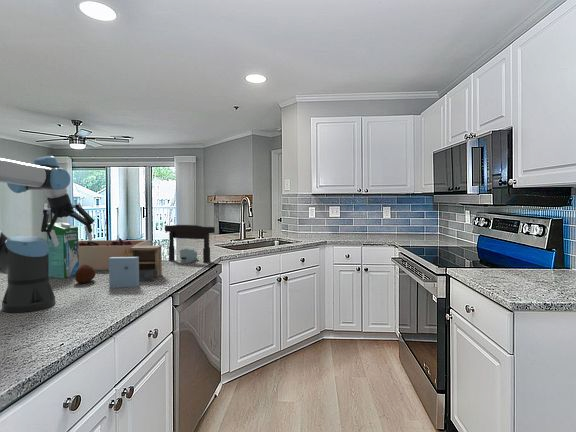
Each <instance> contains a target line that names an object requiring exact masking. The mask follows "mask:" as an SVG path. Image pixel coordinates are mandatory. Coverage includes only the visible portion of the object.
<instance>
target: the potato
mask: <svg viewBox="0 0 576 432" xmlns="http://www.w3.org/2000/svg"><path fill="white" fill-rule="evenodd" d="M95 276H96V270H94V268H93V267H91V266H89V265H82V266H80V267H79V268H78V270H77V271H76V273H75V276H74V280H75V281H76V282H77V284H85V283H89V282H91V281H92V280H94V278H95Z"/></svg>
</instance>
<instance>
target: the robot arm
mask: <svg viewBox="0 0 576 432" xmlns="http://www.w3.org/2000/svg"><path fill="white" fill-rule="evenodd" d="M33 163H34V164H32V163H27V162H22V161H17V160H13V159H7V158H3V157H0V183H4V184H7V187H8V188H9V190H11V191H12V192H13V193H16V194H20V193H26V192H27V191H31V190H33V191H35V190H37V191H38V190H40V191H41V190H42V191H43V190H44V193H45V196H46V198H47V201H48V205H49V208H48V207H44V209H43V210H42V214H43V216H42V223H41V228H40V232H41V233H46V234H47V233H48V236H49V239H52V241H53V243H54V246H55V247H57V246H58V245H59V242H58V239H57V237H56V234H55V231H54V230H52V228H53V226H54V224H55V223H57V220H58V218H61V219H62V218H68V217H71V218H73V219H75V220H76V221H78V222H79V223H81V224H83V225H84V227H83V228H84V231H85V234H86V237H87V239H88V240H87V241H93V240H94V239H93V238H94V237H93V235H92V232H93V228H92V225H93V224H94V222H95V219H94V218H93V217H92V216H91V215H90V214H89V213H88V212H87V211H86V210H85V209H84V208H83V207H82V205H81V203H80V202H77V203H76V204H72V202H71V199H70V198H71V197H70V195H69V193H68V190H67V187H68V186H70V183H71V176H70V173H69V172H68V170H67V169H65V168H62V167H60V165H59V164H58V163H59V162H58V161H57V159H56V157H55V156H53V155H44V156H41V157H40V156H39V157H36V158H35V159H33ZM75 210H77V212H76V211H75ZM78 213H79V214H78ZM50 214H53V216H52V219H51V221H50V222H49V216H50ZM48 223H50V224H49V226H48V228H47V224H48ZM0 274H1V275H2V274H3V275H6V276H7V277H6V278H7V288H6V289H5V293H4V296H3V298H2V302H1V311H2V312H6V313H27V312H34V311H39V310H44V309H48V308H50V307H52V306H55V305H56V295H55V294H54V290H53V288H52V286H51V283H50V277H49V249H48V243H47V239H45V238H43V237H39V236H33V235H32V236H31V235H30V236H29V235H19V236H18V235H16V236H11V237H8V236H7V235H5V233H3V232H2V231H1V230H0Z"/></svg>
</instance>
